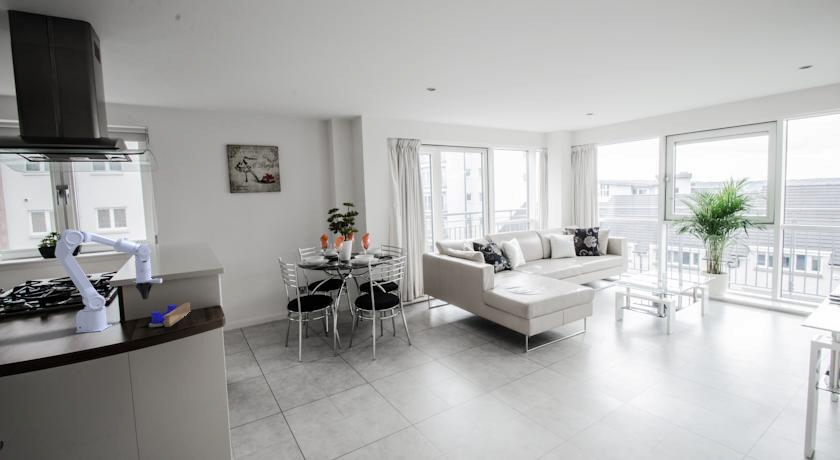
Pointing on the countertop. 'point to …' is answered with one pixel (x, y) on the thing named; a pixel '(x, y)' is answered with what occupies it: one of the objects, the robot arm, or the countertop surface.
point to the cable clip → (157, 315)
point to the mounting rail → (157, 324)
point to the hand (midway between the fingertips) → (145, 298)
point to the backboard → (176, 314)
